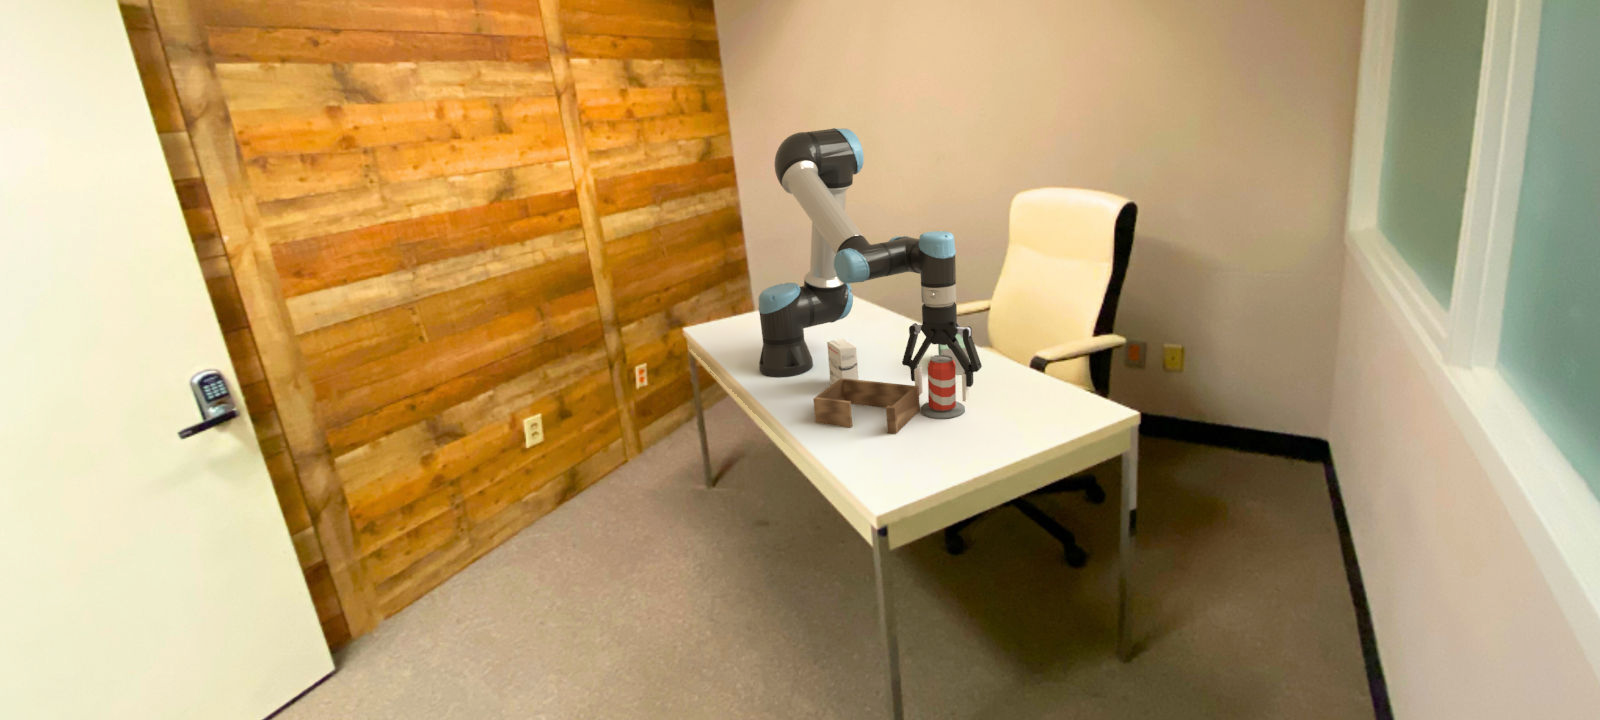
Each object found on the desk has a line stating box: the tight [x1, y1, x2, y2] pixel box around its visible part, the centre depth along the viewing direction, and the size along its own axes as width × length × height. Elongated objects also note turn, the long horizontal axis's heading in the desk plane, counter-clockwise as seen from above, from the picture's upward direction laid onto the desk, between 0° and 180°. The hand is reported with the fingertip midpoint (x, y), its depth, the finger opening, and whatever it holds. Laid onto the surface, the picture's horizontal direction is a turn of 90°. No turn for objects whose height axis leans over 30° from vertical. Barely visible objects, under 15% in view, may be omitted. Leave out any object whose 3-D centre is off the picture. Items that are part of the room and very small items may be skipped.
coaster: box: [920, 401, 966, 420], centre depth 171 cm, size 10×10×1 cm
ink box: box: [826, 338, 860, 386], centre depth 190 cm, size 8×5×12 cm, turn 20°
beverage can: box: [927, 354, 957, 412], centre depth 169 cm, size 6×6×12 cm
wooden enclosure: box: [813, 378, 921, 435], centre depth 171 cm, size 20×14×6 cm
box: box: [937, 333, 970, 376], centre depth 198 cm, size 7×14×8 cm, turn 173°
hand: (942, 396), depth 170 cm, fingers open, 10 cm apart
